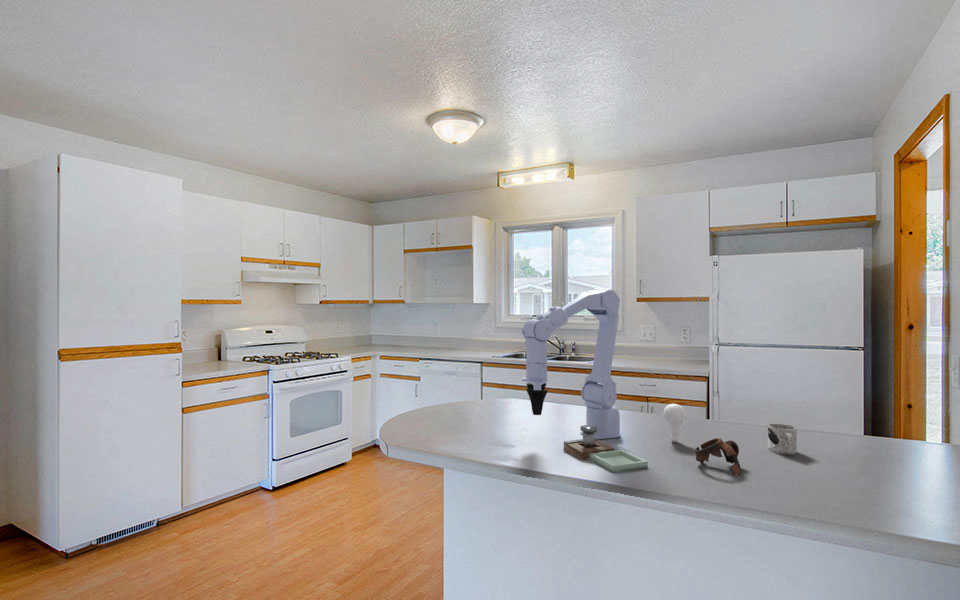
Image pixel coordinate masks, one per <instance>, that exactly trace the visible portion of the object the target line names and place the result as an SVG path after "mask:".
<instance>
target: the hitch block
mask: <svg viewBox="0 0 960 600" xmlns="http://www.w3.org/2000/svg"><path fill="white" fill-rule="evenodd" d="M615 448H616V447H613V446H611V445H609V444H607V443H605V442H602V441H600V439H597V438H595V447H593V448H585V447H583V438H579V439H573V440H572V439H571V440H564V441H563V450H564V451H565V452H567V453H569V454H571V455H573V456H574V457H577V458H578V459H580V460H581V461H583V460H590V454H591V453H599V452H607V451H615Z"/></svg>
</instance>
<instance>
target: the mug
mask: <svg viewBox="0 0 960 600" xmlns="http://www.w3.org/2000/svg"><path fill="white" fill-rule="evenodd" d="M797 429H798V428H797V427H796V426H794V425H789V424H785V423H769V424H768V425H767V450H768V451H770V452H772V453H775V454H780V455H786V456H787V455H788V456H789V455H793V456H794V455H796V454H797V443H798V442H797V436H798V435H797V431H798V430H797Z"/></svg>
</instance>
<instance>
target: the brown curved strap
mask: <svg viewBox="0 0 960 600" xmlns="http://www.w3.org/2000/svg"><path fill="white" fill-rule="evenodd" d="M699 445H700V447H699V446H697V447H695V449H694V450H693V453H694V454H695V461H697V462H700V463H701V464H704V463H705V462H706V463H709V462H710V461H709V459H710V455H711V456H713V457H717V458H723V455H724V458H725V460H726V463H730V464H732V465H731V466H730V469H731V470H732V473H733V475H734V476H737V475H738V474H740V473H741V472H742V470H743V469H742V468H741V464H740V462H739V459H738V457H739V454H740V453H739V451H740V448H739V445H738V444H737V443H736V441H733V440H727V441H725V442H724V441H723V440H722V438H721V437H718V438H717V437H716V438H713V439H710V440H708V441H705V442H704V443H702V444H699ZM700 448H701V449H700Z"/></svg>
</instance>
